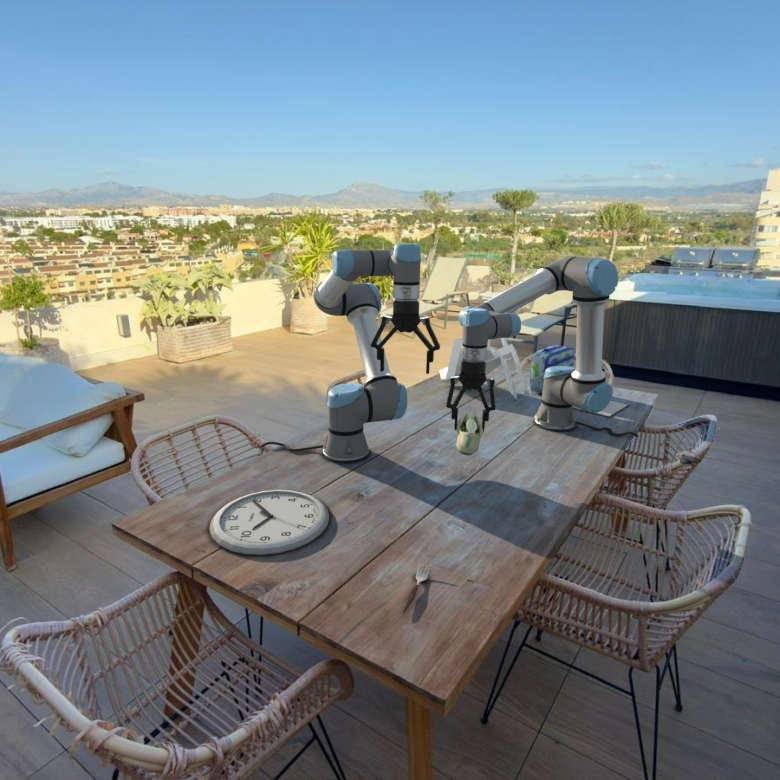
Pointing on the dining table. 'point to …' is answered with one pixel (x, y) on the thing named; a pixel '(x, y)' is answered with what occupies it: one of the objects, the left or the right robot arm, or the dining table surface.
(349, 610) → the dining table surface
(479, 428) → the ballet flat
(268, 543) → the wall clock
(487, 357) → the white plastic object
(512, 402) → the dining table surface
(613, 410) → the invitation card
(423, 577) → the fork
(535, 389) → the lunch box
